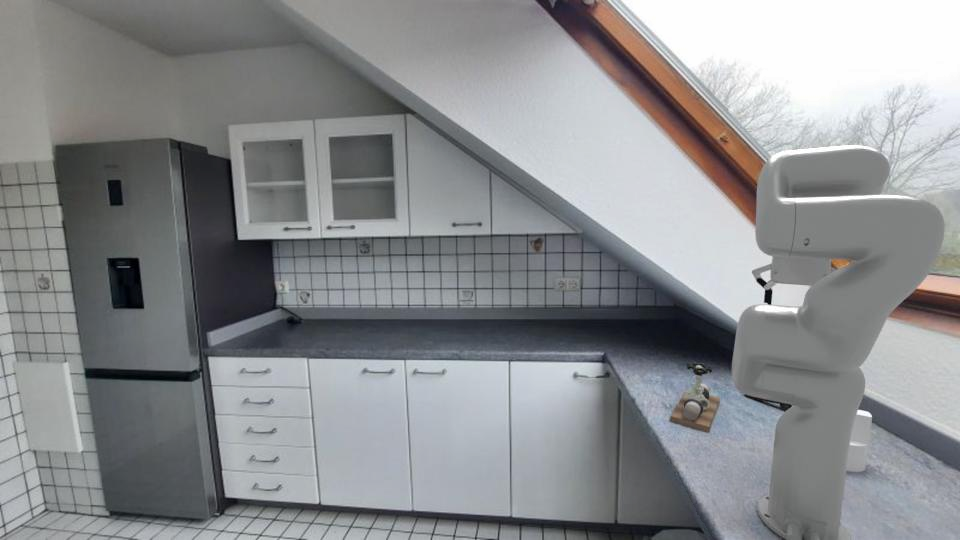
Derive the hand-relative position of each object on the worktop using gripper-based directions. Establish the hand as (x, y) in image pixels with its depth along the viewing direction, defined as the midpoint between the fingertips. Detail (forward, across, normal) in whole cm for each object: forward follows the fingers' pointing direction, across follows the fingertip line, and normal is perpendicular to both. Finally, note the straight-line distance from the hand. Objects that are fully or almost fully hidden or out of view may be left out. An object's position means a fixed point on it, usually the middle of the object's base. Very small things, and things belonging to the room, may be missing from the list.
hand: (795, 309), depth 86 cm
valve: (+32, -19, +8) cm, 39 cm away
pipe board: (+34, -19, +8) cm, 39 cm away
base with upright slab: (+34, +10, +2) cm, 35 cm away
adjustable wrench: (+34, +2, +23) cm, 41 cm away
